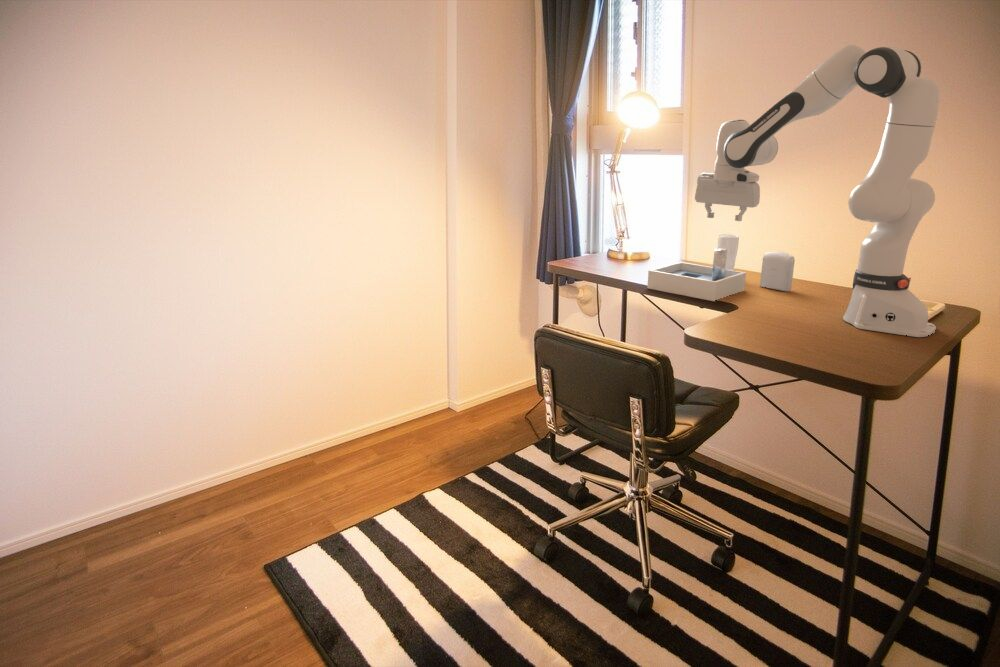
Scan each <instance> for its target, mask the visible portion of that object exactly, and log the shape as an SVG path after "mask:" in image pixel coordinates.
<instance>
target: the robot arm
mask: <svg viewBox="0 0 1000 667" xmlns="http://www.w3.org/2000/svg"><path fill="white" fill-rule="evenodd" d="M921 73H922V63H921V60H920V59H919V57H918V56H917V55H916V54H915V53H913V52H912V51H909V50H907V49H906V50H905V49H902V48H899V47H893V46H889V47H885V46H880V47H875V48H873V49H870V50H868V51H866V50H864V48H862V47H860V46H859V45H855V44H847V45H844V46H843V47H841V48H839V49H838V50H836V51H835V52H834V53H833V54H831V55H830V56H828V57H827V58H826V59H825V60H823V61H822V62H821V63H819V65H818V66H817V67H815V68H814V69H813V70H812V71H811V72H810V73H809V74H808V75H807V76H806V77H805V78H804V79H803V80H802V81H801V82H800V83H798V85H797V86H795V87H794V88H793V89H792V90H791V91H790V92H788V93H787V94H786V95H785V96H784V97H783V98H782V99H780V100H779V101H778V102H777V103H775V104H774V105H773V106H772V107H770V108H769V109H768V110H767V111H766V112H764V113H763V114H762V115H761V116H760V117H758V118H757V119H756V120H754V121H753V122H752V123H751V124H750V123H749V122H748V120H745V119H733V120H727V121H725V122H723V123H722V124H721V125H720V127H719V131H718V134H717V139H716V140H717V141H716V149H715V151H716V160H715V162H714V170H713V173H707V172H702V173H701V174H700V175H699V176H697V179H696V181H697V182H696V184H697V185H696V190H695V194H694V200H695V201H696V203H702V204H704V207H705V208H704V209H705V211H706V212H707V215H706V216H707V218H708V219H713V218H714V217H715V211H713V210H712V208H711V207H712V206H713V205H722V206H731V207H733V206H734V207H739V209H738V210H739V213H738V214H735V216H734V221H736V222H742V220H743V216H744V215H745V212H747V209H748V208H756V207H758V206H759V204H760V200H761V199H760V197H761V187H760V184H759V183H758V181H759V180H760V175H759V174H758V173H756V172H752V171H750V170H749V169H746V167H752V166H753V167H754V166H755V167H756V166H762V165H766V164H768V163H771V162H772V161H773V160H774V159H775V158H776V156H777V154H778V151H779V145H778V144H779V143H778V141H777V138H776V137H775V135H776V134H777V133H778V132H779V131H781V130H782V129H783V128H785V127H786V126H788V125H789V124H791V123H794V122H795V121H800V120H803V119H805V118H810V117H815V116H819V115H821V114H824V113H825V112H826V111H829V110H830V109H832V108H833V107H835V106H836V105H837V104H838V103H840V102H842V100H843V99H844V98H846V96H848V95H849V94H850V93H851V92H852V91H853V90H854V89H857V87H860V88H861V89H862V90H864V91H866V92H867V93H869V94H873V95H876V96H878V97H881V98H882V99H886V98H887V99H888V102H889V108H888V114H887V119H886V123H885V127H884V131H883V134H882V138H881V143H880V145H879V146H880V147H879V150H878V151H877V152H878V153H877V155H876V157H875V160H874V162H873V164H872V165H871V167H870V169H869V171H868V172H867V174H866V175H865V177H864V178H863V180H862V181H861V182H860V183H859V184H858V185H856V186H855V187H854V188H853V190H851V192H850V194H849V197H848V200H847V201H848V203H847V204H848V209H849V212H850V214H851V215H852V216H853V217H854V218H855V219H857V220H860V221H863V222H869V223H875V224H874V226H873V228H872V229H871V231H870V233H869V234H868V235H867V236H866V237H865V238H864V239H863V240H862V243H861V244H860V251H859V255H858V256H859V257H858V263H857V268H856V270H855V271H854V275H853V281H852V294H851V297H850V300H849V303H848V305H847V309H846V311H845V313H844V315H843V317H842V319H843V321H845V322H847V323H848V324H851V325H853V326H854V327H855V328H857V329H860V330H867V331H873V332H879V333H880V332H881V333H887V334H894V335H900V336H906V335H907V337H915V338H924V337H929V336H932V335H933V334H935V332H936V331H937V326H936V325H935V324H934V323H931V322H929V311H928V307H927V305H926V303H924V302H923V301H922V300H920V299H919V298H918V297H917V296H916V295H915V294H914V293H913V292H912V291H911V290H909V287H910V284H911V283H910V282H911V280H912V277H908V276H906V275H905V274H904V269H905V264H906V259H907V254H908V249H909V245H910V243H911V241H912V238H913V236H914V233H915V232H916V230H917V228H918V225H920V224H919V223H920V222H921V220H922V219H923V217H924V216H926V215H927V213H929V212H930V211H931V209H932V208H933V206H934V204H935V200H936V193H935V191H934V188H933V187H932V185H930V184H929V183H928V182H926V181H923V180H920V179H917V178H913V177H912V176H913V174H914V172H915V171H916V170H917V168H918V167H919V166H920V165H921V164H922V163H923V162H924V161H925V160H926V159H927V156H928V154H929V152H930V147H931V143H932V139H933V137H934V136H933V135H934V132H935V128H936V123H937V120H938V118H937V117H938V114H939V107H940V96H941V95H940V94H941V93H940V90H941V89H940V85H939V84H938V83H937V82H935V81H934V80H933V79H930V78H927V77H920V76H921ZM935 330H936V331H935ZM932 333H933V334H932ZM931 334H932V335H931ZM928 335H929V336H928Z"/></svg>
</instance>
